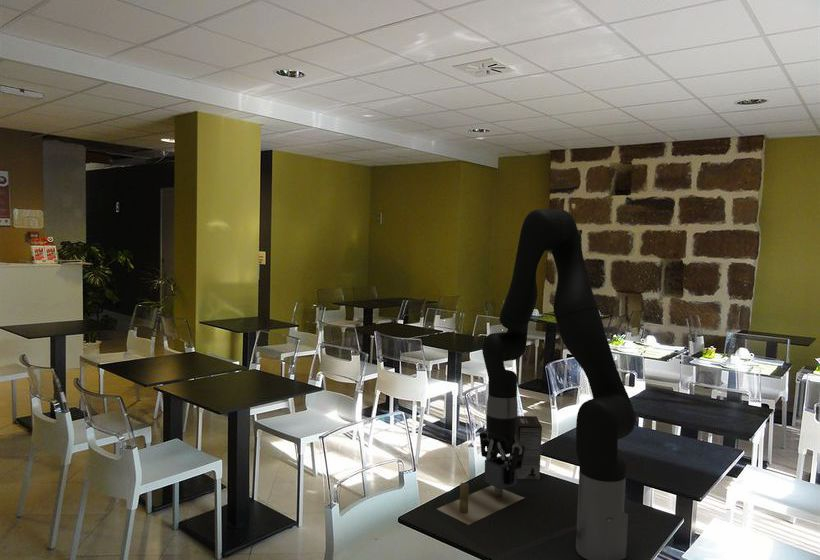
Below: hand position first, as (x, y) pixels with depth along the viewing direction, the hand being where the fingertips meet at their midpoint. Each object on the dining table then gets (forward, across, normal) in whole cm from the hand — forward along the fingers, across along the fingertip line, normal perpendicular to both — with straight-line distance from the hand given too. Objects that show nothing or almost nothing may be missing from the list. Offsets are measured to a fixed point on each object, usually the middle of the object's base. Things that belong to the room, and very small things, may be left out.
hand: (500, 479), depth 147 cm
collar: (+1, 0, 0) cm, 1 cm away
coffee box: (+6, +8, -16) cm, 19 cm away
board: (+6, -1, +7) cm, 9 cm away
